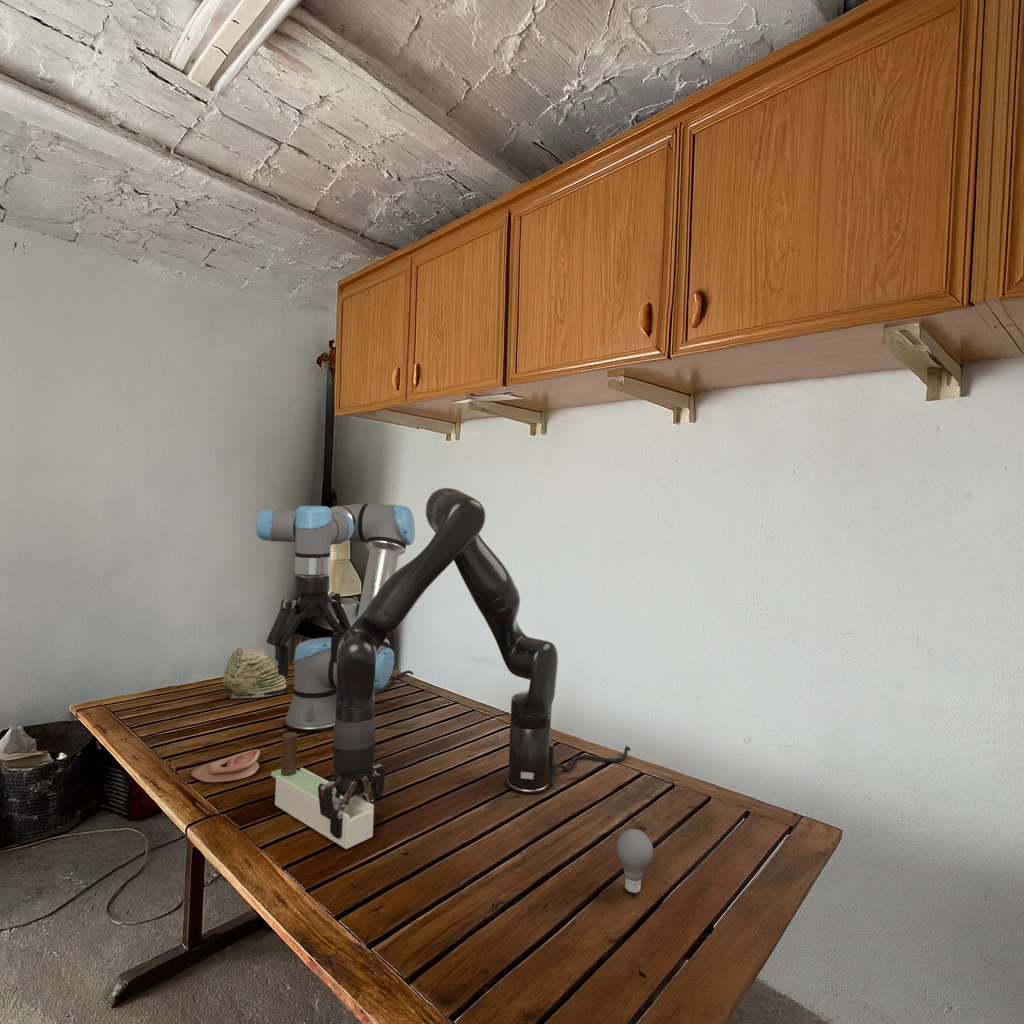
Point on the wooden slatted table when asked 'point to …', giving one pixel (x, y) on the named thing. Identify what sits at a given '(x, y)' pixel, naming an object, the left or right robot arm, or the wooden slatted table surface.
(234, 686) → the fossil
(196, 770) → the anatomical model
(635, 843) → the light bulb
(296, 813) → the pencil box
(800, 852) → the wooden slatted table surface
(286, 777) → the sliding lid
